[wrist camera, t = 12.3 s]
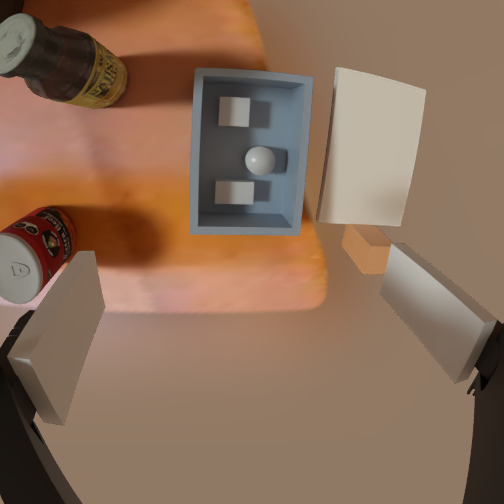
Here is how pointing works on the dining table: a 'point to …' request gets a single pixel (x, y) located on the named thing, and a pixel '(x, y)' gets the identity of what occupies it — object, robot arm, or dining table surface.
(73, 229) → the canned food
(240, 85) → the tub
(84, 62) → the sauce bottle
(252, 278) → the dining table surface
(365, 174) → the lid
